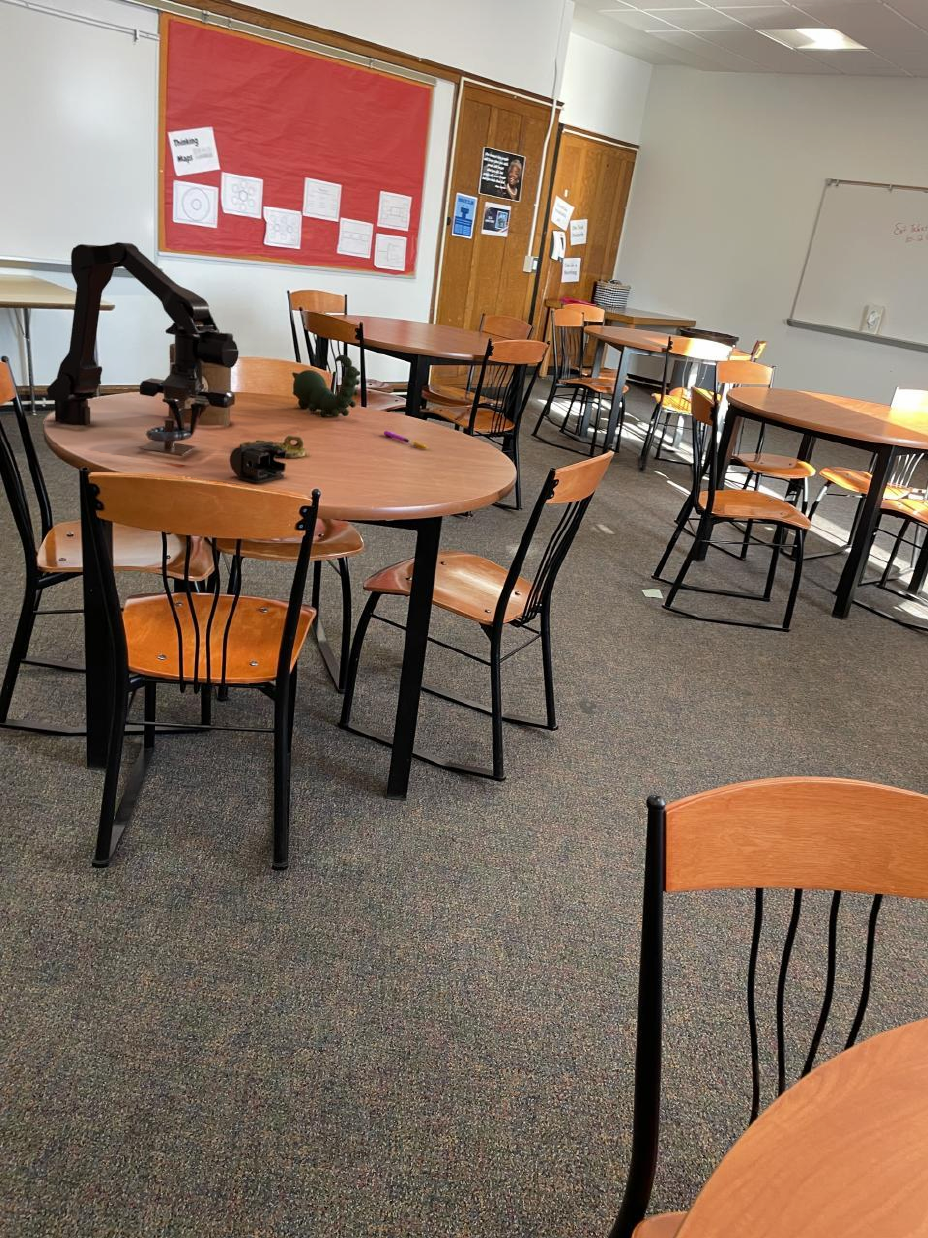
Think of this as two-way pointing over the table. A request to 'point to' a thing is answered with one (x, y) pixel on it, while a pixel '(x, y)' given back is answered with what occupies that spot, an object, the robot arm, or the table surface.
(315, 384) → the toy figurine
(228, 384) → the wooden container
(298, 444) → the seal
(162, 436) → the ring
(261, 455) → the end cap
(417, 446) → the purple paintbrush
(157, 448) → the stand
